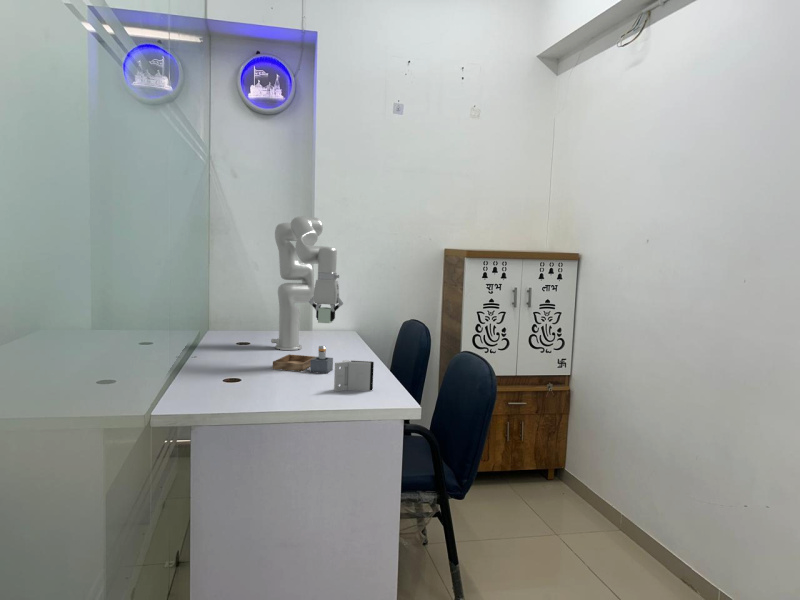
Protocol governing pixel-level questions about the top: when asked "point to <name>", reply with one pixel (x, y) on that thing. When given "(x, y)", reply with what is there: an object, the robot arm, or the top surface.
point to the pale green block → (324, 315)
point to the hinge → (353, 375)
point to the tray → (293, 362)
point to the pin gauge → (322, 353)
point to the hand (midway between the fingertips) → (325, 319)
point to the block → (321, 365)
